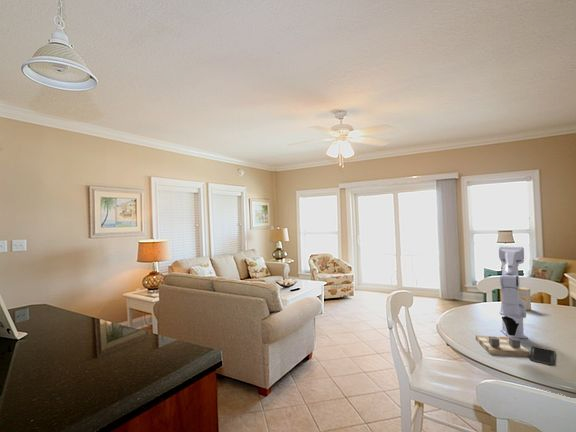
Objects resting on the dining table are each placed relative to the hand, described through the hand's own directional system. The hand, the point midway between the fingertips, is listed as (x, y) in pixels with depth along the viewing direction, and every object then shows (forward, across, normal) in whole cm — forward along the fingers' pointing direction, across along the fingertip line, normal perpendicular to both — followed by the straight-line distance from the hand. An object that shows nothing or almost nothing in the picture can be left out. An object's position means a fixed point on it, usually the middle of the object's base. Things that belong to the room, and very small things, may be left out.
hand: (511, 334), depth 130 cm
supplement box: (+8, -71, +36) cm, 79 cm away
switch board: (+8, -7, -1) cm, 11 cm away
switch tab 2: (+6, -4, +3) cm, 8 cm away
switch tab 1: (+6, -4, -5) cm, 9 cm away
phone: (+9, 0, +11) cm, 14 cm away
